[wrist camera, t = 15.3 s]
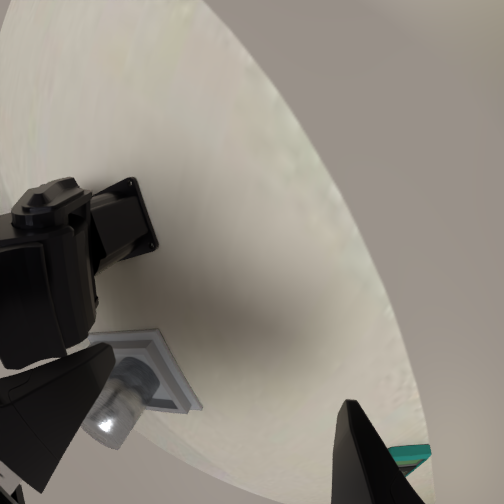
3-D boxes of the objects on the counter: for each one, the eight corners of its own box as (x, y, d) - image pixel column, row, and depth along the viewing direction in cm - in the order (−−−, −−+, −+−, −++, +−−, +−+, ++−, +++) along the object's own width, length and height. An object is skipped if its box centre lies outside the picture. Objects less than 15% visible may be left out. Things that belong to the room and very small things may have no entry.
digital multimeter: (351, 482, 32) (351, 495, 30) (389, 443, 27) (391, 460, 24) (387, 480, 31) (388, 493, 29) (431, 440, 26) (434, 455, 23)
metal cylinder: (158, 366, 27) (112, 431, 18) (161, 396, 29) (124, 456, 20) (117, 350, 28) (68, 405, 19) (124, 380, 30) (83, 433, 21)
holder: (158, 328, 26) (148, 340, 24) (203, 407, 29) (197, 419, 27) (88, 333, 29) (78, 341, 27) (131, 400, 33) (125, 410, 31)
